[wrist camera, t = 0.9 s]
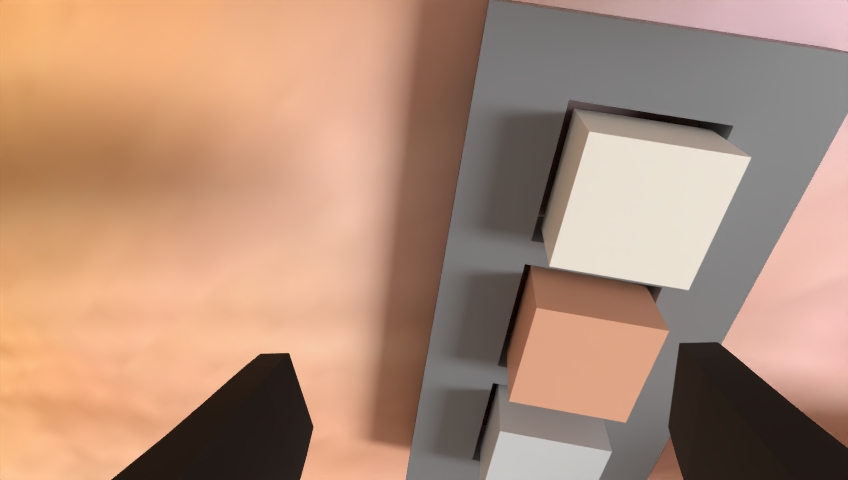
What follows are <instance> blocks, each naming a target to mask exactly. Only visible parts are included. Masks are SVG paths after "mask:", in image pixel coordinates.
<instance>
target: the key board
mask: <svg viewBox="0 0 848 480" xmlns="http://www.w3.org/2000/svg"><path fill="white" fill-rule="evenodd" d="M569 100H573V101H579V102H585V103H592V104H598V105H604V106H611V107H617V108H624V109H630V110H636V111H643V112H649V113H655V114H662V115H668V116H674V117H681V118H687V119H694V120H700V121H701V122H700V125H699V127H698V128H704V129H710V130H713V131H714V132H715V133H717V134H718V135H720V136H721V137H723V138H724V139H726V140H727V141H728V142H730V143H731V144H733V145H734V146H736V147H737V148H739V149H740V150H741V151H743V152H744V153H746V154H747V155H749V156H750V157H751V160H750V162H749V164H748V166H747V168H746V170H745V172H744V174H743V176H742V179H741V181H740V183H739V185H738V187H737V189H736V191H735V193H734V195H733V198H732V200H731V202H730V204H729V206H728V208H727V210H726V212H725V214H724V217H723V219H722V221H721V223H720V225H719V227H718V229H717V231H716V233H715V236H714V238H713V240H712V242H711V244H710V246H709V248H708V250H707V252H706V255H705V257H704V259H703V261H702V263H701V265H700V267H699V269H698V271H697V274H696V276H695V278H694V280H693V282H692V284H691V286H690V288H689V290H684V289H679V288H673V287H667V286H661V285H655V284H649V283H643V282H638V281H632V280H626V279H620V278H614V277H608V276H602V275H597V274H591V273H585V272H579V271H573V270H567V269H561V268H556V267H550V266H549V263H548V258H547V254H546V249H545V244H544V239H543V234H542V230H541V226H542V223H543V219H544V218H542V217H538V214H539V210H540V206H541V203H542V199H543V195H544V192H545V188H546V184H547V180H548V177H549V173H550V169H551V166H552V162H553V158H554V154H555V151H556V147H557V143H558V140H559V136H560V132H561V128H562V125H563V121H564V117H565V114H566V110H567V106H568V102H569ZM847 114H848V52H846V51H842V50H837V49H832V48H826V47H820V46H813V45H806V44H800V43H793V42H786V41H780V40H773V39H766V38H760V37H753V36H746V35H739V34H733V33H726V32H719V31H713V30H706V29H699V28H693V27H686V26H679V25H673V24H666V23H659V22H653V21H646V20H639V19H633V18H626V17H619V16H612V15H606V14H599V13H592V12H586V11H579V10H572V9H566V8H559V7H552V6H546V5H539V4H532V3H526V2H519V1H512V0H489V2H488V8H487V14H486V19H485V25H484V31H483V37H482V42H481V48H480V54H479V60H478V65H477V71H476V77H475V83H474V88H473V94H472V100H471V106H470V111H469V117H468V123H467V129H466V134H465V140H464V146H463V152H462V157H461V163H460V169H459V175H458V180H457V186H456V192H455V198H454V203H453V209H452V215H451V221H450V226H449V232H448V238H447V244H446V249H445V255H444V261H443V267H442V272H441V278H440V284H439V290H438V295H437V301H436V307H435V313H434V318H433V324H432V330H431V336H430V341H429V347H428V353H427V358H426V364H425V370H424V376H423V381H422V387H421V393H420V399H419V404H418V410H417V416H416V422H415V427H414V433H413V439H412V445H411V451H410V457H409V463H408V469H407V475H406V480H480V447H481V443H482V440H483V436H484V432H485V429H486V425H482V422H483V418H484V414H485V411H486V407H487V403H488V400H489V396H490V392H491V388H492V385H493V383H496V384H501V385H507V386H508V372H507V349H508V346H509V342H510V338H511V335H508V334H506V333H507V329H508V325H509V322H510V318H511V314H512V310H513V307H514V303H515V299H516V296H517V292H518V288H519V284H520V281H521V277H522V273H523V270H524V266H525V264H527V265H533V266H539V267H544V268H550V269H556V270H562V271H568V272H574V273H580V274H585V275H591V276H597V277H603V278H609V279H615V280H620V281H626V282H632V283H636V284H642V285H646V286H647V288H648V290H649V292H650V294H651V296H652V298H653V300H654V302H655V304H656V306H657V308H658V310H659V312H660V314H661V316H662V318H663V320H664V322H665V324H666V326H667V328H668V330H669V333H668V335H667V337H666V339H665V341H664V343H663V345H662V347H661V350H660V352H659V354H658V356H657V358H656V360H655V362H654V364H653V366H652V369H651V371H650V373H649V375H648V377H647V379H646V381H645V383H644V385H643V388H642V390H641V392H640V394H639V396H638V398H637V400H636V402H635V404H634V407H633V409H632V411H631V413H630V415H629V417H628V419H627V421H626V423H625V422H619V421H614V420H608V419H604V423H605V427H606V431H607V434H608V438H609V442H610V446H611V450H612V453H611V455H610V457H609V459H608V461H607V464H606V466H605V468H604V470H603V472H602V474H601V476H600V478H599V480H647V478H648V477H649V475H650V473H651V471H652V469H653V468H654V466H655V464H656V462H657V460H658V458H659V457H660V455H661V453H662V451H663V449H664V447H665V446H666V444H667V442H668V440H669V438H670V437H671V435H670V432H669V428H668V424H669V416H670V409H671V402H672V394H673V387H674V379H675V372H676V364H677V357H678V349H679V343H699V342H718V343H719V344H721V343H722V342H723V340H724V338H725V336H726V334H727V333H728V331H729V329H730V327H731V325H732V323H733V322H734V320H735V318H736V316H737V314H738V312H739V311H740V309H741V307H742V305H743V303H744V302H745V300H746V298H747V296H748V294H749V292H750V291H751V289H752V287H753V285H754V283H755V281H756V280H757V278H758V276H759V274H760V272H761V271H762V269H763V267H764V265H765V263H766V261H767V260H768V258H769V256H770V254H771V252H772V250H773V249H774V247H775V245H776V243H777V241H778V239H779V238H780V236H781V234H782V232H783V230H784V229H785V227H786V225H787V223H788V221H789V219H790V218H791V216H792V214H793V212H794V210H795V208H796V207H797V205H798V203H799V201H800V199H801V198H802V196H803V194H804V192H805V190H806V188H807V187H808V185H809V183H810V181H811V179H812V177H813V176H814V174H815V172H816V170H817V168H818V167H819V165H820V163H821V161H822V159H823V157H824V156H825V154H826V152H827V150H828V148H829V146H830V145H831V143H832V141H833V139H834V137H835V135H836V134H837V132H838V130H839V128H840V126H841V125H842V123H843V121H844V119H845V117H846V115H847Z"/></svg>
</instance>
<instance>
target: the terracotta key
mask: <svg viewBox="0 0 848 480" xmlns="http://www.w3.org/2000/svg"><path fill="white" fill-rule="evenodd" d="M668 333H669V330H668V328H667V326H666V324H665V322H664V320H663V318H662V316H661V314H660V312H659V310H658V308H657V306H656V304H655V302H654V300H653V298H652V296H651V294H650V292H649V290H648V288H647V286H646V285H642V284H636V283H630V282H624V281H618V280H612V279H606V278H601V277H595V276H589V275H583V274H577V273H571V272H566V271H560V270H554V269H548V268H542V267H536V266H530V270H529V273H528V277H527V280H526V284H525V288H524V291H523V295H522V299H521V302H520V306H519V309H518V313H517V317H516V320H515V324H514V328H513V331H512V335H511V338H510V342H509V346H508V349H507V372H508V393H509V402H515V403H520V404H526V405H531V406H537V407H542V408H548V409H553V410H559V411H564V412H570V413H575V414H581V415H586V416H592V417H597V418H603V419H608V420H614V421H619V422H625V423H626V421H627V419H628V417H629V415H630V413H631V411H632V409H633V407H634V404H635V402H636V400H637V398H638V396H639V394H640V392H641V390H642V388H643V385H644V383H645V381H646V379H647V377H648V375H649V373H650V371H651V369H652V366H653V364H654V362H655V360H656V358H657V356H658V354H659V352H660V350H661V347H662V345H663V343H664V341H665V339H666V337H667V335H668Z"/></svg>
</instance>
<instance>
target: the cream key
mask: <svg viewBox="0 0 848 480" xmlns="http://www.w3.org/2000/svg"><path fill="white" fill-rule="evenodd" d="M750 160H751V157H750V156H749V155H747V154H746V153H744V152H743V151H741V150H740V149H739V148H737V147H736V146H734V145H733V144H731V143H730V142H728V141H727V140H726V139H724V138H723V137H721V136H720V135H718V134H717V133H715V132H714V131H713V130H710V129H704V128H698V127H691V126H685V125H678V124H672V123H666V122H659V121H653V120H647V119H640V118H634V117H628V116H621V115H615V114H609V113H602V112H596V111H590V110H583V109H577V108H574V110H573V114H572V118H571V121H570V125H569V129H568V132H567V136H566V139H565V143H564V147H563V150H562V154H561V157H560V161H559V165H558V168H557V172H556V176H555V179H554V183H553V186H552V190H551V194H550V197H549V201H548V205H547V208H546V212H545V215H544V219H543V223H542V226H541V230H542V234H543V239H544V244H545V249H546V254H547V258H548V263H549V266H550V267H556V268H561V269H567V270H573V271H579V272H585V273H591V274H597V275H602V276H608V277H614V278H620V279H626V280H632V281H638V282H643V283H649V284H655V285H661V286H667V287H673V288H679V289H684V290H689V288H690V286H691V284H692V282H693V280H694V278H695V276H696V274H697V271H698V269H699V267H700V265H701V263H702V261H703V259H704V257H705V255H706V252H707V250H708V248H709V246H710V244H711V242H712V240H713V238H714V236H715V233H716V231H717V229H718V227H719V225H720V223H721V221H722V219H723V217H724V214H725V212H726V210H727V208H728V206H729V204H730V202H731V200H732V198H733V195H734V193H735V191H736V189H737V187H738V185H739V183H740V181H741V179H742V176H743V174H744V172H745V170H746V168H747V166H748V164H749V162H750Z"/></svg>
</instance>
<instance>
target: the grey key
mask: <svg viewBox="0 0 848 480" xmlns="http://www.w3.org/2000/svg"><path fill="white" fill-rule="evenodd" d="M611 453H612V450H611V446H610V442H609V438H608V434H607V431H606V427H605V423H604V419H603V418H597V417H592V416H586V415H581V414H575V413H570V412H564V411H559V410H553V409H548V408H542V407H537V406H531V405H526V404H520V403H515V402H509V393H508V386H507V385H501V384H498V385H497V389H496V393H495V396H494V400H493V404H492V407H491V411H490V414H489V418H488V422H487V425H486V429H485V432H484V436H483V440H482V443H481V447H480V480H599V478H600V476H601V474H602V472H603V470H604V468H605V466H606V464H607V461H608V459H609V457H610V455H611Z"/></svg>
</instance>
